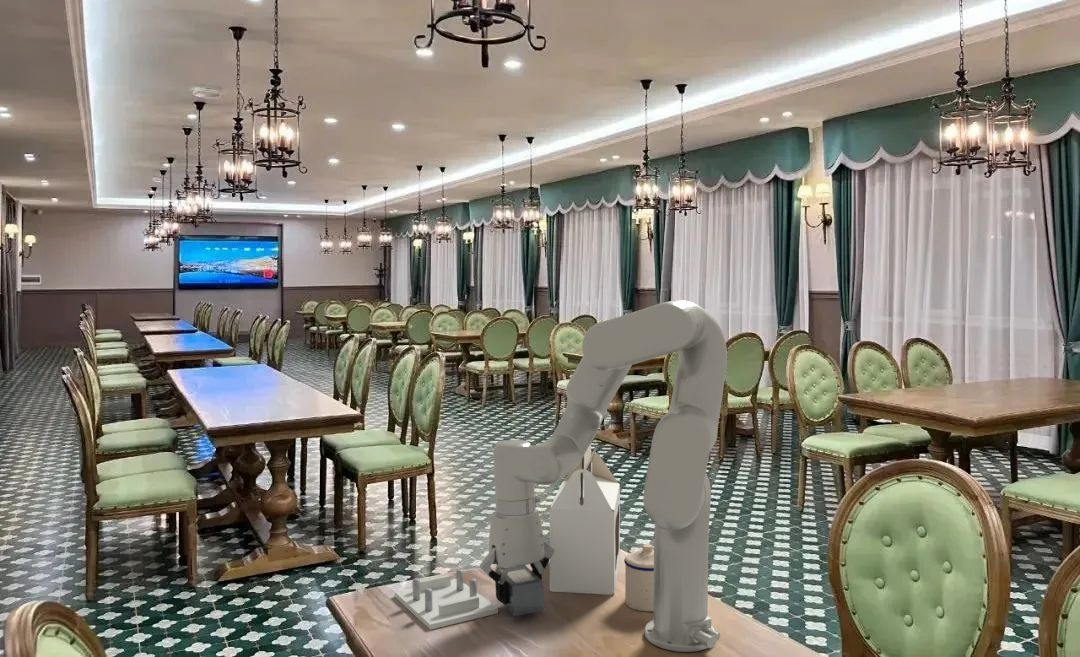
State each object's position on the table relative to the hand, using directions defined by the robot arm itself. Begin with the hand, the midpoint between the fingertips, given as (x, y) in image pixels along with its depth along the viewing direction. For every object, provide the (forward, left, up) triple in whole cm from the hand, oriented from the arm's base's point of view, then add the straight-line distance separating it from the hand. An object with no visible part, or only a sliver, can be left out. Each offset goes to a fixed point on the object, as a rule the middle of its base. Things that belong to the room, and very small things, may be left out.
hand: (519, 597), depth 154 cm
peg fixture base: (+11, +11, -3) cm, 16 cm away
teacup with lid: (-8, -24, -3) cm, 26 cm away
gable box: (+10, -22, -3) cm, 25 cm away
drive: (0, 0, -1) cm, 1 cm away
